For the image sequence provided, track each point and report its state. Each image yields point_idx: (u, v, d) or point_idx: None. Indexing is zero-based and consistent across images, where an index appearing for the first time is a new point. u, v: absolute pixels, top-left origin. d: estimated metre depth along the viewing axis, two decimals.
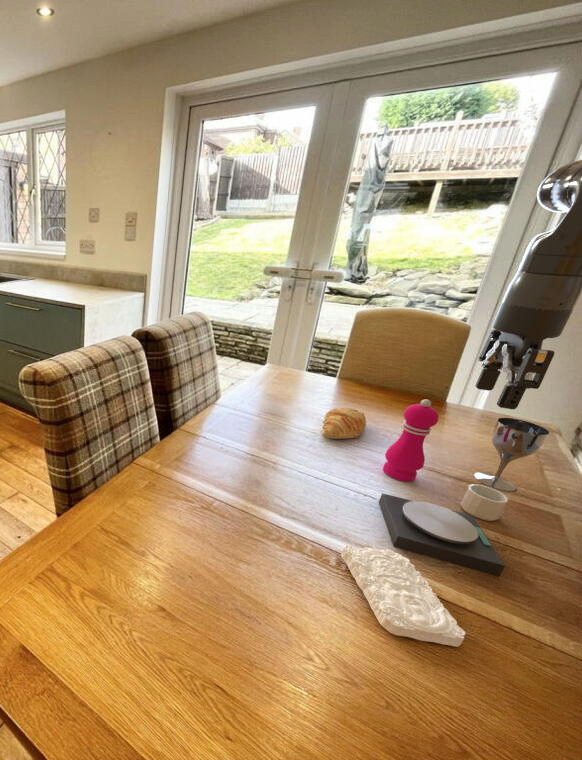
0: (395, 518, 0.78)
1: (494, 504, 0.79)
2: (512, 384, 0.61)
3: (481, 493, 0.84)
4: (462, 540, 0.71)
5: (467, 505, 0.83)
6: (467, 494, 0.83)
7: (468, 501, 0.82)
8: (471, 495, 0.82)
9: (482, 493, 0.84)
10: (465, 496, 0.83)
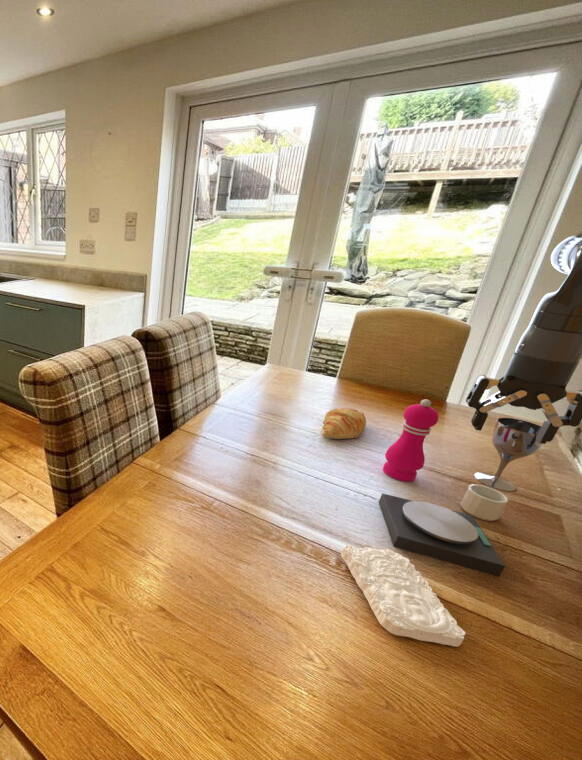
0: (395, 518, 0.78)
1: (494, 504, 0.79)
2: None
3: (481, 493, 0.84)
4: (462, 540, 0.71)
5: (467, 505, 0.83)
6: (467, 494, 0.83)
7: (468, 501, 0.82)
8: (471, 495, 0.82)
9: (482, 493, 0.84)
10: (465, 496, 0.83)
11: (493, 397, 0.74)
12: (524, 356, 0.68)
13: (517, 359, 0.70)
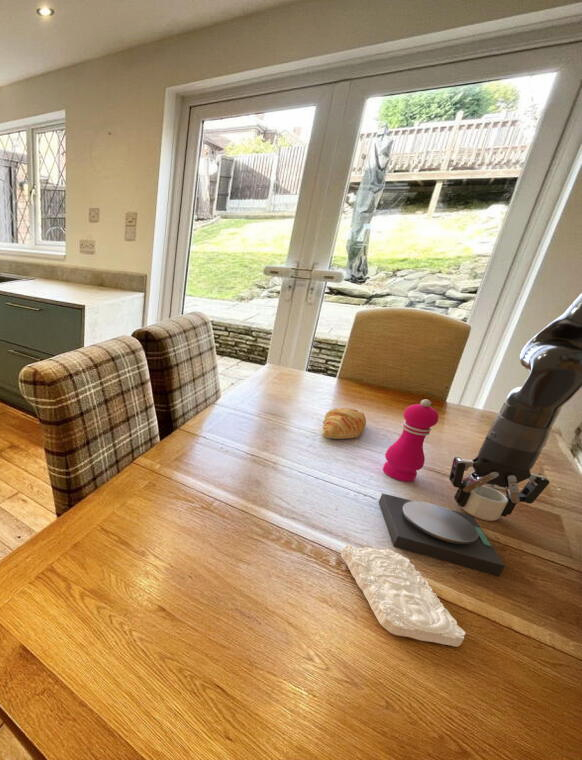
0: (395, 518, 0.78)
1: (494, 504, 0.79)
2: None
3: (481, 493, 0.84)
4: (462, 540, 0.71)
5: (467, 505, 0.83)
6: None
7: (468, 501, 0.82)
8: (471, 495, 0.82)
9: (482, 493, 0.84)
10: None
11: (471, 476, 0.82)
12: (497, 443, 0.76)
13: (490, 444, 0.78)
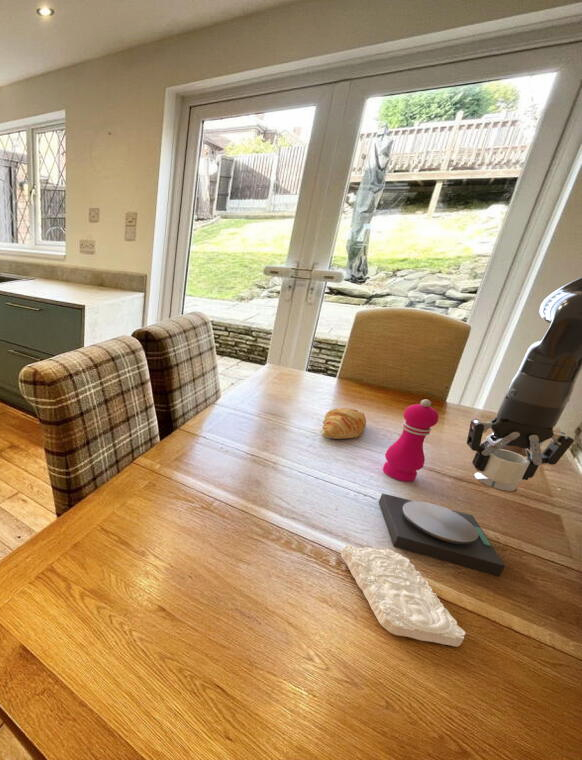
0: (395, 518, 0.78)
1: (515, 466, 0.76)
2: None
3: (500, 457, 0.80)
4: (462, 540, 0.71)
5: (486, 469, 0.79)
6: None
7: (487, 465, 0.79)
8: (490, 458, 0.78)
9: (502, 457, 0.80)
10: None
11: (490, 439, 0.79)
12: (517, 401, 0.73)
13: (510, 403, 0.74)
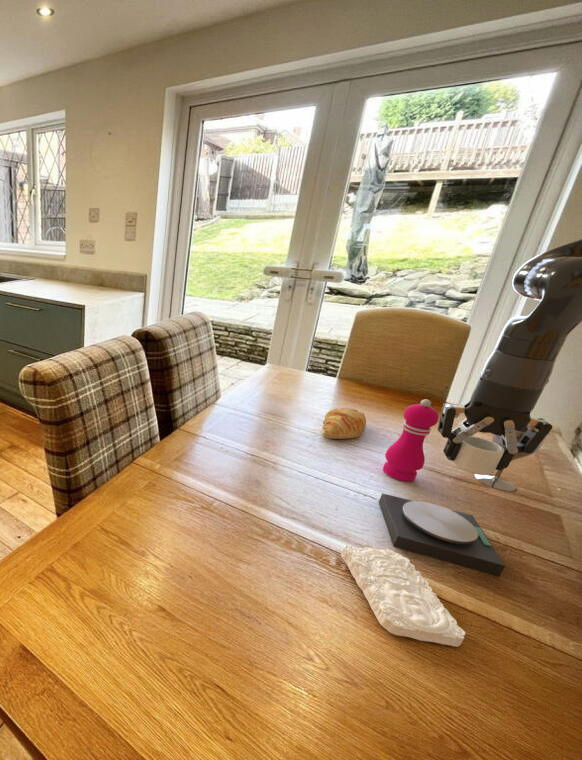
0: (395, 518, 0.78)
1: (488, 455, 0.69)
2: None
3: (474, 446, 0.74)
4: (462, 540, 0.71)
5: (457, 458, 0.72)
6: None
7: (459, 453, 0.72)
8: (462, 446, 0.71)
9: (476, 445, 0.73)
10: None
11: (462, 425, 0.72)
12: (491, 382, 0.66)
13: (484, 384, 0.67)
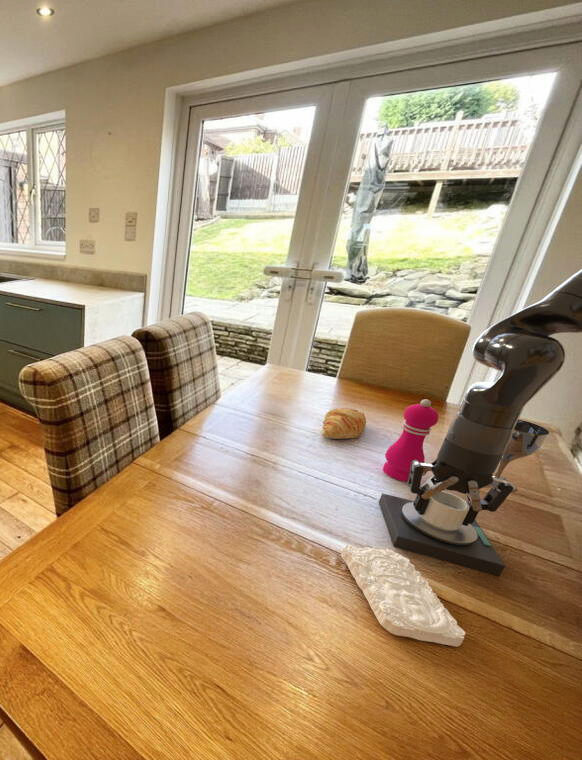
0: (395, 518, 0.78)
1: (454, 512, 0.71)
2: None
3: (442, 500, 0.76)
4: (461, 541, 0.71)
5: (426, 513, 0.75)
6: None
7: (427, 509, 0.75)
8: (430, 502, 0.74)
9: (444, 499, 0.76)
10: None
11: (430, 482, 0.74)
12: (455, 445, 0.69)
13: (448, 446, 0.70)
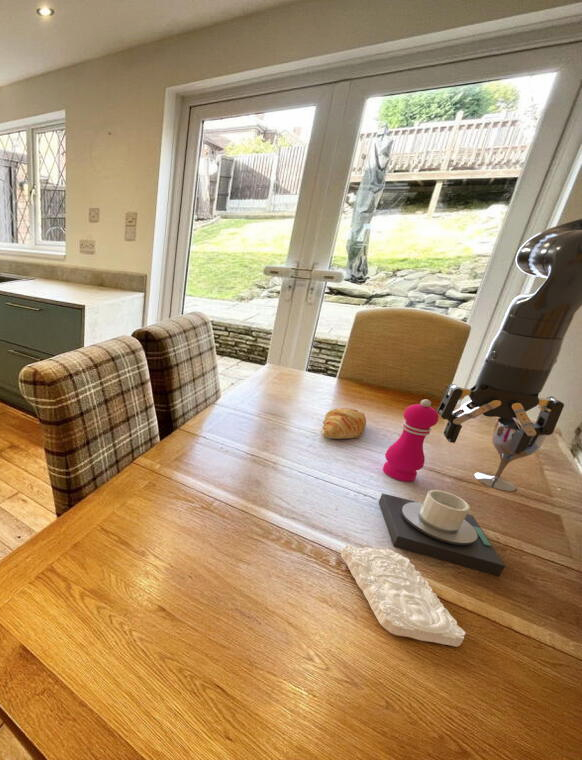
0: (395, 518, 0.78)
1: (454, 512, 0.71)
2: None
3: (442, 500, 0.76)
4: (461, 541, 0.71)
5: (426, 513, 0.75)
6: (426, 501, 0.75)
7: (427, 509, 0.75)
8: (430, 502, 0.74)
9: (444, 499, 0.76)
10: (424, 503, 0.76)
11: (465, 407, 0.69)
12: (498, 364, 0.64)
13: (490, 367, 0.65)
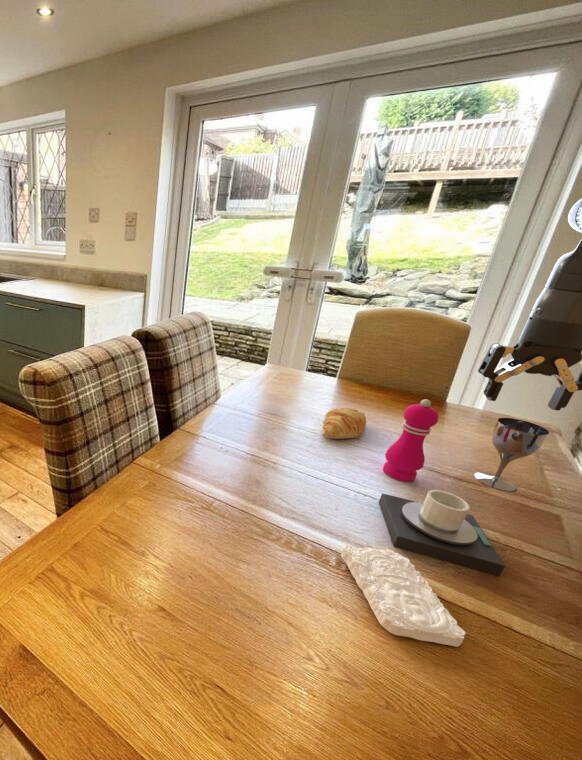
0: (395, 518, 0.78)
1: (454, 512, 0.71)
2: None
3: (442, 500, 0.76)
4: (461, 541, 0.71)
5: (426, 513, 0.75)
6: (426, 501, 0.75)
7: (427, 509, 0.75)
8: (430, 502, 0.74)
9: (444, 499, 0.76)
10: (424, 503, 0.76)
11: (507, 365, 0.72)
12: (543, 320, 0.66)
13: (534, 323, 0.67)
